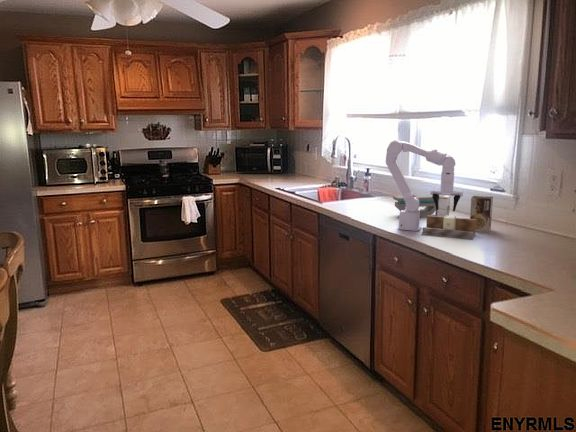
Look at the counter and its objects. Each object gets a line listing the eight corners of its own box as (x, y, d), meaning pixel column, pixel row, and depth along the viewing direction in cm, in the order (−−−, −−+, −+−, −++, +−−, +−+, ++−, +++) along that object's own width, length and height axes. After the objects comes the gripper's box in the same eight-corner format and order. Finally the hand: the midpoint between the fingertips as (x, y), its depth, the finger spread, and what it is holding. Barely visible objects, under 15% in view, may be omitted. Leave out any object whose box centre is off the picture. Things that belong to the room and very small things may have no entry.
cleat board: (421, 234, 219) (422, 219, 217) (426, 229, 229) (427, 215, 227) (472, 239, 209) (473, 224, 207) (475, 234, 219) (476, 219, 217)
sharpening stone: (434, 213, 267) (435, 194, 264) (441, 216, 259) (442, 196, 257) (392, 215, 263) (393, 196, 261) (397, 218, 256) (398, 198, 254)
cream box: (442, 232, 217) (443, 218, 216) (445, 229, 223) (445, 215, 222) (452, 233, 215) (453, 218, 214) (455, 230, 221) (456, 216, 220)
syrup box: (437, 221, 246) (438, 194, 243) (449, 222, 243) (450, 195, 240) (434, 223, 241) (436, 195, 238) (446, 225, 238) (448, 196, 235)
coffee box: (491, 229, 227) (493, 196, 224) (489, 232, 222) (491, 198, 219) (471, 227, 232) (473, 195, 229) (468, 230, 227) (471, 197, 223)
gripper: (429, 182, 221) (428, 210, 224) (462, 183, 215) (460, 213, 217) (432, 180, 227) (431, 208, 230) (464, 182, 221) (462, 210, 223)
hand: (445, 210), depth 224 cm, fingers open, 7 cm apart
